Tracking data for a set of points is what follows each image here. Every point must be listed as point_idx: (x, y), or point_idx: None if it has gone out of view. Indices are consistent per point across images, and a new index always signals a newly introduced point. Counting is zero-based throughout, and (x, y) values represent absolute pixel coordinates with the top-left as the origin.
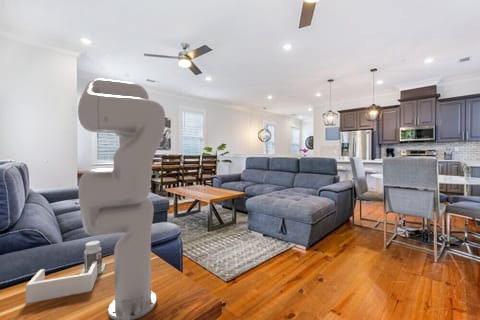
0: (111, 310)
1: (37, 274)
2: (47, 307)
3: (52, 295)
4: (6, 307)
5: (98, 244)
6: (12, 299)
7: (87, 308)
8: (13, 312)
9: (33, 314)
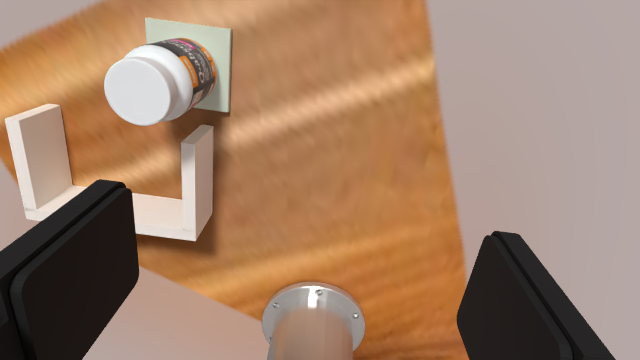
0: (268, 332)
1: (19, 158)
2: None
3: None
4: None
5: (170, 111)
6: (11, 151)
7: (217, 281)
8: None
9: None
